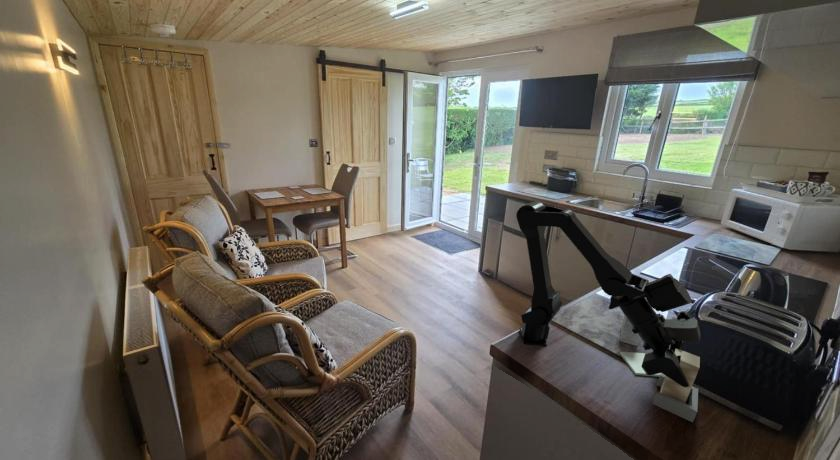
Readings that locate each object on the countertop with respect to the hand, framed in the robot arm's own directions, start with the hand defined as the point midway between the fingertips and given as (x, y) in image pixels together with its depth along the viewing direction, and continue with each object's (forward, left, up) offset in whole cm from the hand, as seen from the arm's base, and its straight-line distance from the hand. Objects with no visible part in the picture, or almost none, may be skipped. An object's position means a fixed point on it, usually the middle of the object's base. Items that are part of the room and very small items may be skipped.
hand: (687, 380), depth 75 cm
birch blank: (-1, +1, -7) cm, 7 cm away
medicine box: (+1, +24, -7) cm, 25 cm away
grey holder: (-1, +1, -7) cm, 7 cm away
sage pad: (-1, +12, -7) cm, 14 cm away
